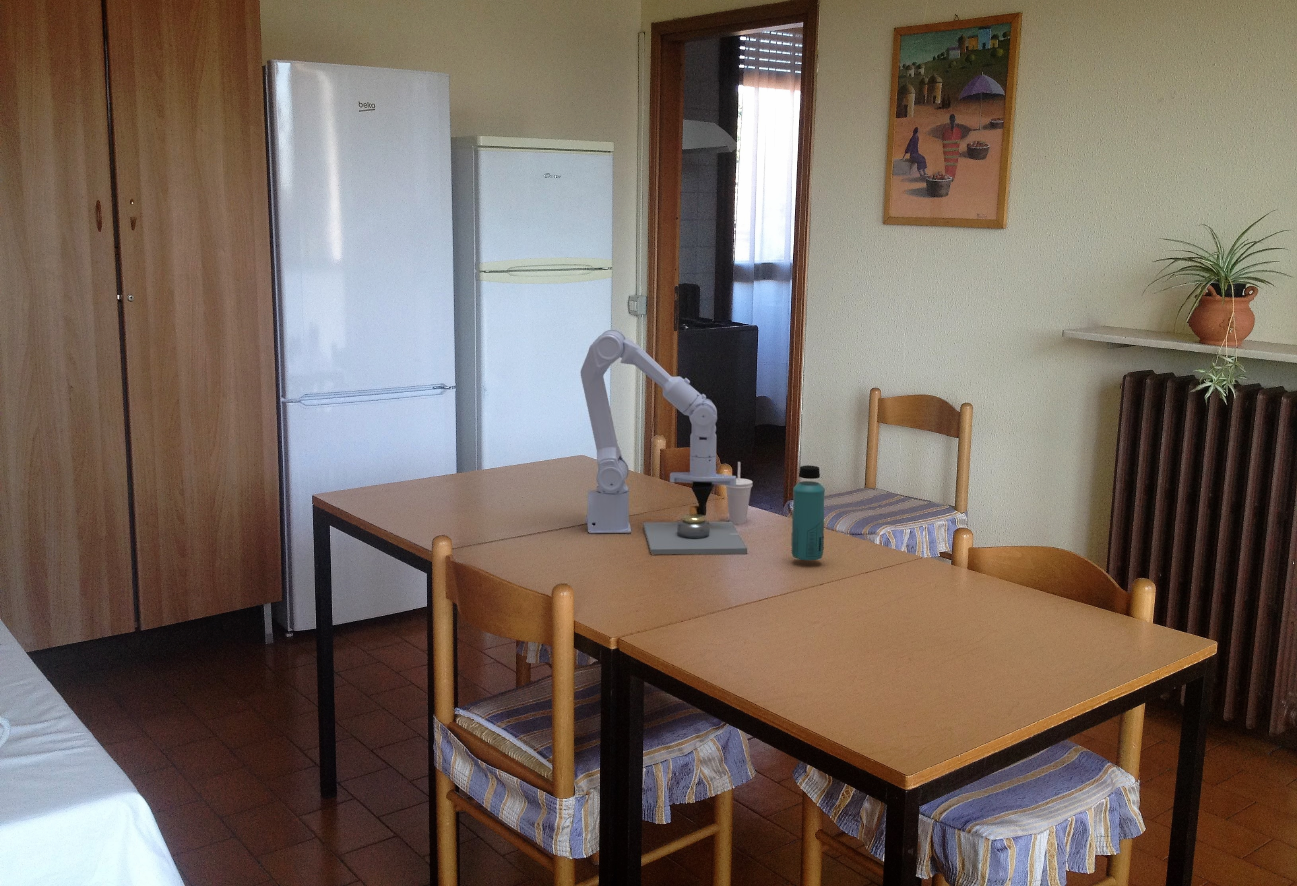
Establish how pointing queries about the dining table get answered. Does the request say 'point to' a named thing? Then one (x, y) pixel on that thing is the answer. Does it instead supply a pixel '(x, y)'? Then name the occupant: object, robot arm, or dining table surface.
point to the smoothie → (738, 499)
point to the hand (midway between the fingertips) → (702, 515)
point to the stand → (693, 539)
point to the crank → (693, 524)
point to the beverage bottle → (808, 516)
